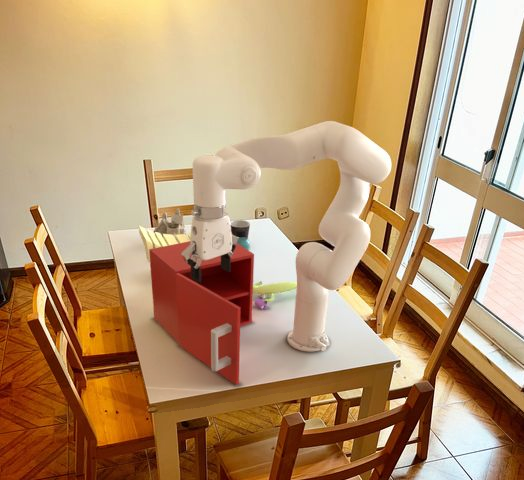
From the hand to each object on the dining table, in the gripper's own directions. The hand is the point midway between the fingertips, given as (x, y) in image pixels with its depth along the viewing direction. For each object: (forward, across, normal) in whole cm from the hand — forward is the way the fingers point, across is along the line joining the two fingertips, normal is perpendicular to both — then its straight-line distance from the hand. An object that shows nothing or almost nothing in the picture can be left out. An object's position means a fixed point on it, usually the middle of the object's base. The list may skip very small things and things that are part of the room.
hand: (211, 275), depth 142 cm
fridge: (+29, +14, +22) cm, 39 cm away
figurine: (+29, +45, +16) cm, 56 cm away
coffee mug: (+29, +66, +63) cm, 96 cm away
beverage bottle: (+29, +43, +36) cm, 63 cm away
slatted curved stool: (+29, +30, +53) cm, 68 cm away
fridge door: (+28, -4, +2) cm, 29 cm away
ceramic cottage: (+29, +42, +80) cm, 95 cm away
